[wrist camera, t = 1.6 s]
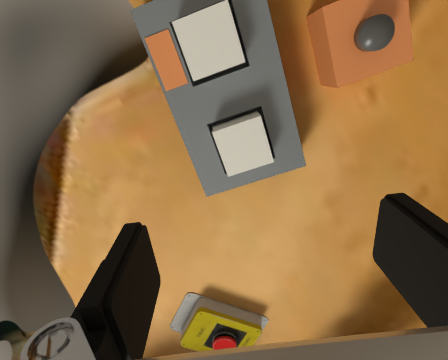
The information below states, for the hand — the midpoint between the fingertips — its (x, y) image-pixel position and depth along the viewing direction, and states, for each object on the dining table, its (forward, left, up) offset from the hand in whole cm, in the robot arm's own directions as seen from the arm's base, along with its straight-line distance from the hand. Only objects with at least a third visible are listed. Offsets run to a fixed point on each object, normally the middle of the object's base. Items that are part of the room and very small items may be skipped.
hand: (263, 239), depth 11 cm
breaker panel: (0, -4, -23) cm, 24 cm away
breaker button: (0, +1, -20) cm, 20 cm away
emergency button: (+13, +31, -24) cm, 42 cm away
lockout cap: (-14, -5, -24) cm, 28 cm away
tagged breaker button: (0, -9, -20) cm, 22 cm away
